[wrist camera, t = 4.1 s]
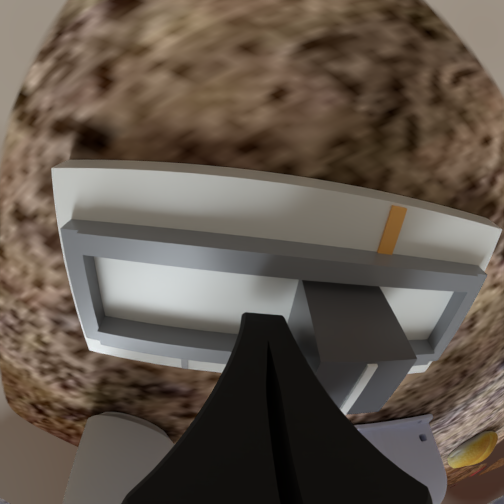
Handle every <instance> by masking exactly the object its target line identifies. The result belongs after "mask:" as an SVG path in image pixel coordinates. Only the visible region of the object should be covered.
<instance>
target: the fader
mask: <svg viewBox="0 0 504 504" xmlns="http://www.w3.org/2000/svg"><path fill="white" fill-rule="evenodd" d="M287 324H288V326H289V329H290V331H291V333H292V335H293V337H294V339H295V341H296V343H297V344H298V346H299V348H300V350H301V352H302V354H303V355H304V357H305V359H306V360H307V362H308V364H309V365H310V367H311V369H312V371H313V372H314V374H315V375H316V377H317V378H318V380H319V381H320V383H321V384H322V386H323V387H324V389H325V390H326V392H327V393H328V394H329V396H330V397H331V398H332V400H333V401H334V402H335V404H336V405H337V406H338V408H339V409H340V410H341V411H342V412H343V414H344V415H346V414H358V413H369V412H378V411H379V410H380V409H381V408H382V407H383V405H384V404H385V403H386V402H387V400H388V399H389V398H390V397H391V395H392V394H393V393H394V391H395V390H396V389H397V387H398V386H399V385H400V383H401V382H402V380H403V379H404V378H405V376H406V375H407V373H408V372H409V371H410V369H411V368H412V366H413V365H414V363H415V362H416V360H417V357H416V355H415V353H414V351H413V349H412V347H411V345H410V343H409V341H408V339H407V337H406V335H405V333H404V331H403V329H402V327H401V325H400V323H399V322H398V320H397V318H396V316H395V314H394V312H393V310H392V308H391V307H390V305H389V303H388V301H387V299H386V298H385V296H384V294H383V292H382V290H381V289H380V287H379V286H367V285H355V284H343V283H331V282H320V281H309V280H299V281H298V285H297V289H296V293H295V296H294V300H293V304H292V308H291V312H290V315H289V319H288V323H287Z"/></svg>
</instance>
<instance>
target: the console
mask: <svg viewBox="0 0 504 504" xmlns="http://www.w3.org/2000/svg"><path fill="white" fill-rule="evenodd" d="M51 169H52V182H53V192H54V201H55V209H56V216H57V223H58V229H59V235H60V241H61V246H62V252H63V257H64V262H65V266H66V271H67V275H68V279H69V284H70V288H71V292H72V295H73V299H74V303H75V306H76V310H77V313H78V317H79V320H80V323H81V327H82V330H83V333H84V336H85V339H86V342H87V345H88V348H89V350H90V351H94V352H98V353H103V354H107V355H112V356H117V357H121V358H126V359H132V360H137V361H142V362H148V363H154V364H160V365H166V366H172V367H179V368H184V369H194V370H202V371H211V372H220V373H222V372H223V370H224V368H225V366H226V364H227V362H228V360H229V357H230V355H231V352H232V350H233V348H234V345H235V342H236V339H237V336H238V333H239V330H240V323H241V316H242V314H244V313H245V312H249V313H261V314H273V315H282V316H283V317H284V318H285V320H286V322H287V323H288V319H289V315H290V312H291V308H292V304H293V300H294V296H295V293H296V289H297V285H298V281H299V280H309V281H320V282H331V283H343V284H355V285H367V286H379V287H380V289H381V290H382V292H383V294H384V296H385V298H386V299H387V301H388V303H389V305H390V307H391V308H392V310H393V312H394V314H395V316H396V318H397V320H398V322H399V323H400V325H401V327H402V329H403V331H404V333H405V335H406V337H407V339H408V341H409V343H410V345H411V347H412V349H413V351H414V353H415V355H416V357H417V360H416V362H415V363H414V365H413V366H412V368H411V369H410V371H409V372H408V373H407V374H410V373H420V372H425V371H426V369H427V368H428V367H429V365H430V364H431V362H432V361H437V360H438V359H439V357H440V356H441V354H442V353H443V351H444V350H445V348H446V347H447V345H448V344H449V342H450V341H451V339H452V338H453V336H454V335H455V333H456V331H457V330H458V328H459V326H460V325H461V323H462V321H463V320H464V318H465V316H466V315H467V313H468V311H469V309H470V308H471V306H472V304H473V302H474V300H475V298H476V297H477V295H478V293H479V291H480V289H481V287H482V285H483V283H484V281H485V279H486V277H487V274H486V273H485V272H484V271H485V269H486V267H487V265H488V263H489V260H490V258H491V256H492V254H493V251H494V249H495V246H496V244H497V242H498V239H499V237H500V234H501V231H502V229H501V228H500V227H498V226H497V225H496V224H494V223H493V222H492V221H490V220H489V219H488V218H485V217H482V216H478V215H475V214H472V213H468V212H465V211H461V210H457V209H454V208H450V207H446V206H442V205H439V204H435V203H431V202H427V201H423V200H419V199H414V198H410V197H406V196H401V195H397V194H392V193H388V192H383V191H378V190H374V189H369V188H364V187H359V186H353V185H348V184H343V183H337V182H331V181H325V180H319V179H313V178H307V177H301V176H294V175H287V174H280V173H273V172H265V171H257V170H249V169H240V168H230V167H221V166H210V165H198V164H186V163H171V162H154V161H131V160H67V161H65V162H63V163H61V164H59V165H57V166H55V167H53V168H51Z"/></svg>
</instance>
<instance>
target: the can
mask: <svg viewBox="0 0 504 504" xmlns="http://www.w3.org/2000/svg"><path fill="white" fill-rule="evenodd" d="M173 446H174V443H173V442H172V441H171V440H170V439H169V438H168V436H167V434H166V433H165V432H164V431H163V430H162V429H160V428H159V427H158V426H156V425H154V424H152V423H150V422H148V421H146V420H144V419H141V418H138V417H136V416H132V415H129V414H125V413H119V412H104V413H102V414H99V415H95V416H92V417H90V418H88V420H87V423H86V426H85V429H84V432H83V435H82V438H81V441H80V444H79V447H78V450H77V453H76V457H75V460H74V463H73V467H72V470H71V474H70V477H69V481H68V485H67V489H66V492H65V496H64V500H63V504H121V503H122V501H123V500H124V498H125V496H126V495H127V494H128V493H129V492H130V491H131V490H132V489H133V488H134V487H135V486H136V485H137V484H138V483H139V482H140V481H141V480H142V479H144V478H145V477H146V476H147V475H148V474H149V473H150V472H151V471H152V470H153V469H154V468H155V467H156V466H157V465H158V463H159V462H160V461H161V460H162V459H163V458H164V457H165V455H166V454H167V453H168V452H169V451H170V450H171V449H172V447H173Z"/></svg>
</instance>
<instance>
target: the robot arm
mask: <svg viewBox="0 0 504 504" xmlns="http://www.w3.org/2000/svg"><path fill="white" fill-rule="evenodd" d="M432 419H433V415H432V414H427V415H422V416H416V417H411V418H405V419H399V420H393V421H386V422H379V423H371V424H362V425H353V424H352V423H351V422H350V421H349V420H348V418H347V417H346V416H345V415H344V414H343V412H342V411H341V410H340V409H339V408H338V406H337V405H336V404H335V402H334V401H333V400H332V398H331V397H330V396H329V394H328V393H327V392H326V390H325V389H324V387H323V386H322V384H321V383H320V381H319V380H318V378H317V377H316V375H315V374H314V372H313V371H312V369H311V367H310V365H309V364H308V362H307V360H306V359H305V357H304V355H303V354H302V352H301V350H300V348H299V346H298V344H297V343H296V341H295V339H294V337H293V335H292V333H291V331H290V329H289V326H288V324H287V322H286V320H285V318H284V317H283V316H282V315H273V314H261V313H249V312H245V313H244V314H242V316H241V323H240V330H239V333H238V336H237V339H236V342H235V345H234V348H233V350H232V352H231V355H230V357H229V360H228V362H227V364H226V366H225V368H224V370H223V372H222V374H221V376H220V378H219V380H218V382H217V384H216V386H215V387H214V389H213V391H212V393H211V394H210V396H209V398H208V399H207V401H206V402H205V404H204V406H203V407H202V409H201V410H200V412H199V413H198V415H197V416H196V417H195V419H194V420H193V422H192V423H191V424H190V426H189V427H188V429H187V430H186V431H185V433H184V434H183V435H182V437H181V438H180V439H179V440H178V442H177V443H176V444H175V445H174V446H173V447H172V449H171V450H170V451H169V452H168V453H167V454H166V455H165V457H164V458H163V459H162V460H161V461H160V462H159V463H158V465H157V466H156V467H155V468H154V469H153V470H152V471H151V472H150V473H149V474H148V475H147V476H146V477H145V478H144V479H142V480H141V481H140V482H139V483H138V484H137V485H136V486H135V487H134V488H133V489H132V490H131V491H130V492H129V493H128V494H127V495H126V496H125V498H124V500H123V501H122V503H121V504H440V503H441V502H442V500H443V498H444V496H445V493H446V488H447V477H446V472H445V469H444V465H443V462H442V459H441V456H440V453H439V450H438V447H437V444H436V442H435V439H434V436H433V433H432V430H431V428H430V425H429V422H430V421H431V420H432ZM0 504H9V503H8V502H6V501H5V500H3V499H2V498H0ZM488 504H504V495H503V496H501V497H500V498H497V499H495V500H494V501H492V502H490V503H488Z"/></svg>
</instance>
